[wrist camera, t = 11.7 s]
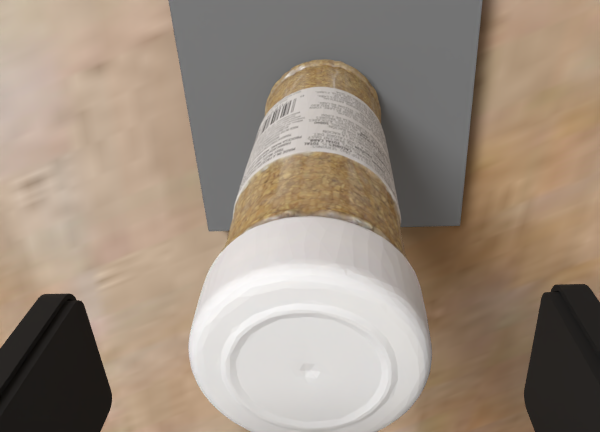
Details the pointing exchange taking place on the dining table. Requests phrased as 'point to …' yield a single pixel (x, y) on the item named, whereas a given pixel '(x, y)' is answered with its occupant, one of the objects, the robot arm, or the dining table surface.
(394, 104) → the mat
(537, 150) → the dining table surface
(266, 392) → the spice jar
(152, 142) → the dining table surface
